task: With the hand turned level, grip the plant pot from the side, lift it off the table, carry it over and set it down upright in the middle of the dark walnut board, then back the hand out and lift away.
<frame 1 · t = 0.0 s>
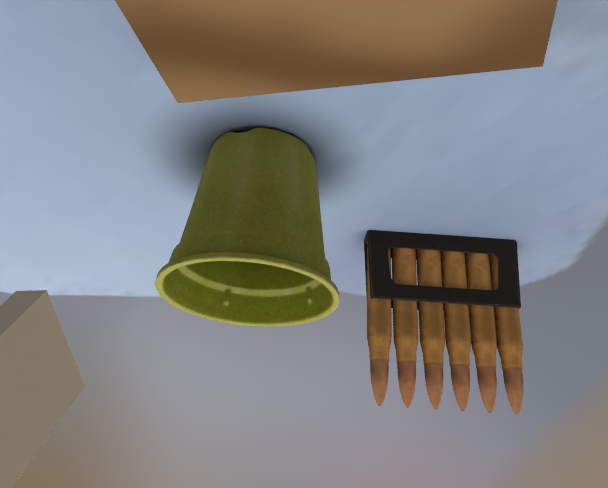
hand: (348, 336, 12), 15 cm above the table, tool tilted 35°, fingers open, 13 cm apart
plant pot: (262, 154, 33), on the table
ammunition clip: (438, 237, 42), on the table
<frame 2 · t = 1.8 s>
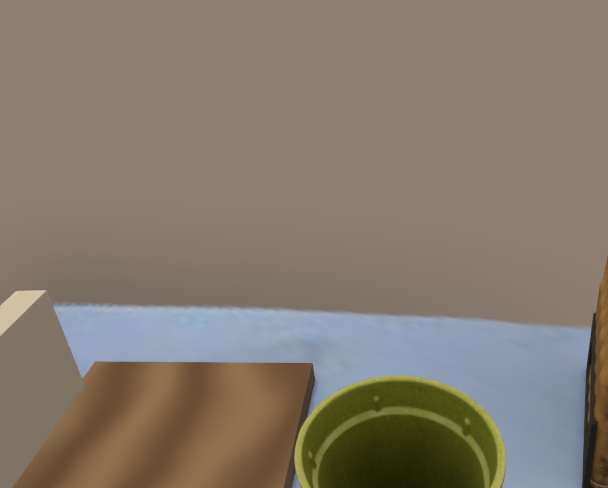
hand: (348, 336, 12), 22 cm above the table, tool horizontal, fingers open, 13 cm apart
walnut board: (165, 457, 39), on the table
ammunition clip: (600, 428, 36), on the table
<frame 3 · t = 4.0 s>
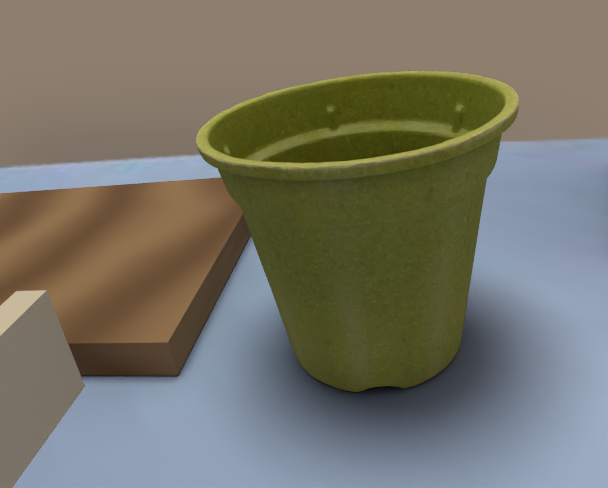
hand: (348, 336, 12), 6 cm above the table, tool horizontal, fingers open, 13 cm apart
plant pot: (375, 344, 21), on the table
walnut board: (68, 271, 30), on the table
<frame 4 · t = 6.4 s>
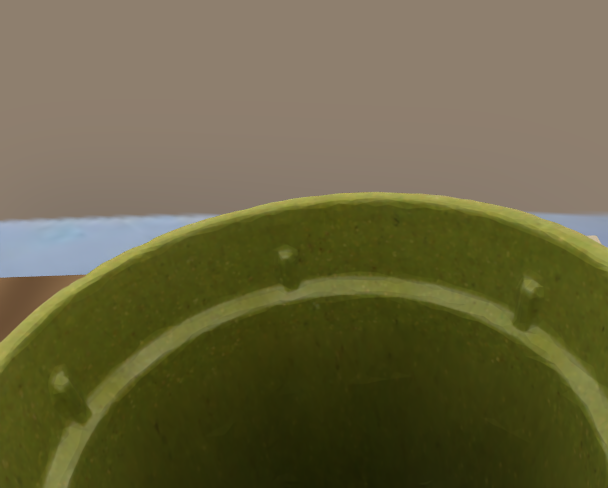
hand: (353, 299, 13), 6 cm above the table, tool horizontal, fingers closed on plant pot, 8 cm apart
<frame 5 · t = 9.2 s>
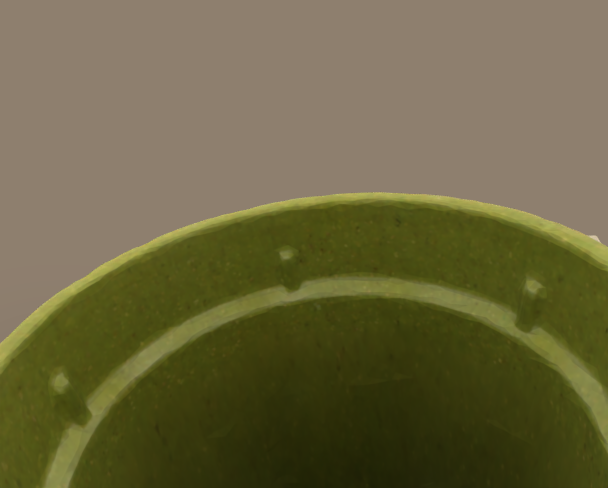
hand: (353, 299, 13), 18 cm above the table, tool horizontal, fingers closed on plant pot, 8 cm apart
when the fingers open (9 cm above the table, at t = 12.2 s): plant pot moves 3 cm, resting on walnut board.
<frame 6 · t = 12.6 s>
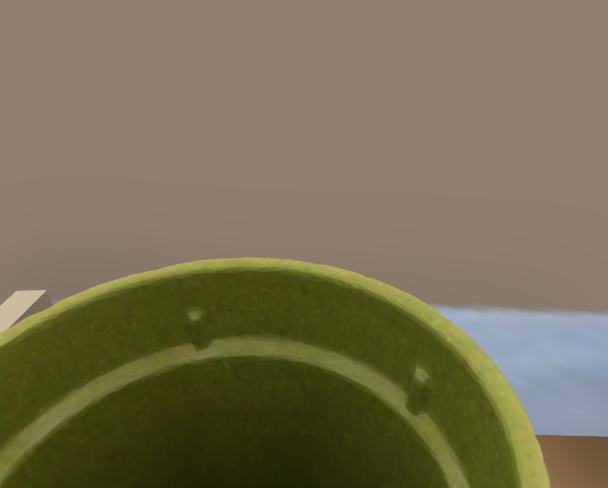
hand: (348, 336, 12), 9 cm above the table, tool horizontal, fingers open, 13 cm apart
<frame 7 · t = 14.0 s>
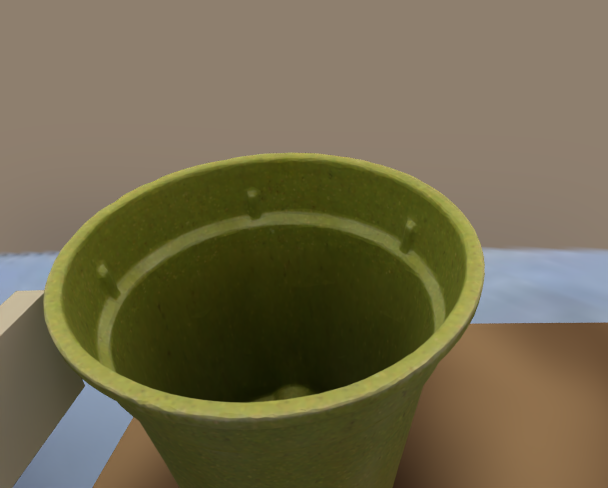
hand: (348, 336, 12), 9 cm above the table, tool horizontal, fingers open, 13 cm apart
plant pot: (290, 479, 18), point 2 cm above the table, touching walnut board
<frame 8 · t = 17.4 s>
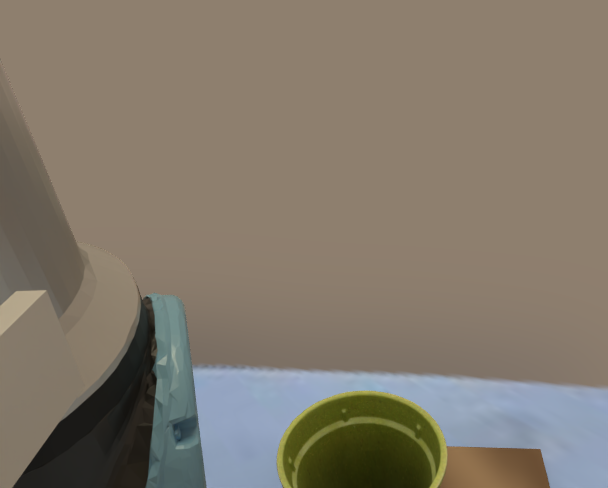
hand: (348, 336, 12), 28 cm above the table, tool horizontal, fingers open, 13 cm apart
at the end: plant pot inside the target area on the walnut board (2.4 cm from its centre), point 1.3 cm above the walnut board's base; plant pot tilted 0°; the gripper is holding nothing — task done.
